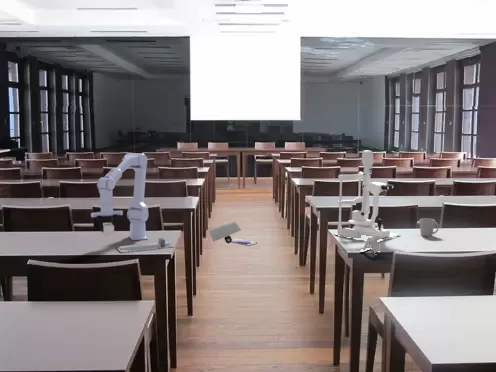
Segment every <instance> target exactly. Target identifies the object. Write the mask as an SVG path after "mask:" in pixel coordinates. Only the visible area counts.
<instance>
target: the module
mask: <svg viewBox="0 0 496 372" xmlns="http://www.w3.org/2000/svg"><path fill="white" fill-rule="evenodd" d="M101 234H102V235H103V237H105V238H106V237H114V236H115V228H114V225H113V224H112V222H103V232H102V231H101Z"/></svg>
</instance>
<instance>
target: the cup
mask: <svg viewBox="0 0 496 372" xmlns="http://www.w3.org/2000/svg"><path fill="white" fill-rule="evenodd" d="M435 225H436V231H434V228H435ZM419 229H420V230H419V231H420V235H421V236H422V237H425V236H431V237H432V236H433V235H434V234H436V233H438V232H439V223H438V222H436V220H435V219H434V218H428V217H425V218H424V217H423V218H420V219H419Z"/></svg>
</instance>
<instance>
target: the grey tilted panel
mask: <svg viewBox="0 0 496 372" xmlns="http://www.w3.org/2000/svg"><path fill="white" fill-rule="evenodd" d="M241 231H242V229H241V228H240V226H239V224H238V223H237V222H236V221H231V222H229V223H225V224H222V225H219V226H216V227H213V228H209V229H208V232H209V235H210V237H211V239H212V242H217V241H218V240H221V239H223V238H224V241H225V243H226V244H230V243H231V242H232V239H233V238H232V236H231V235H233V234H236V233H238V232H241Z"/></svg>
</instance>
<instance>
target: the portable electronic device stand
mask: <svg viewBox="0 0 496 372" xmlns="http://www.w3.org/2000/svg"><path fill="white" fill-rule="evenodd" d="M381 238H382V236H381V235H376V236H373V237H369V238H368V239H367V241H366V242H365V244H364V246H363V247H360V248H359V249H358V251H359V250H361V249H363V250H365V249H366V248H370V247H371V248H373V249H372V250H373V253H374V256H377V255H378V254H375V252H377V251H381V249H380V246H379V243H378V242H377V240H379V239H381ZM369 242H371V243H370V244H371V245H369ZM377 253H378V252H377Z"/></svg>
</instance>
